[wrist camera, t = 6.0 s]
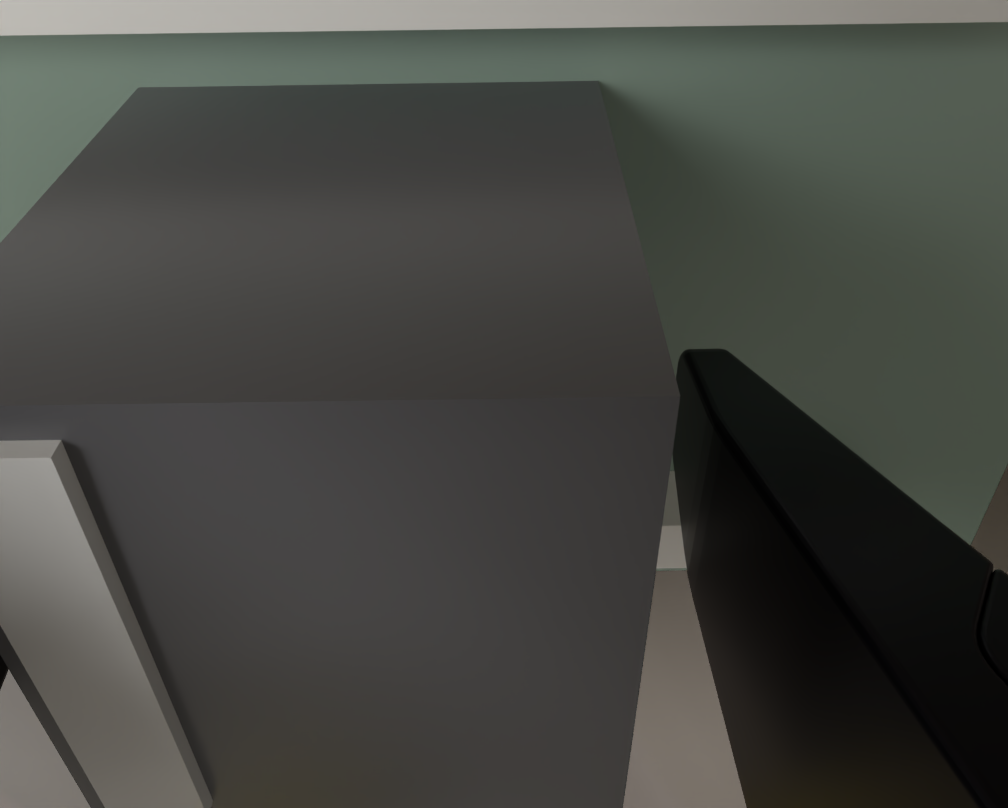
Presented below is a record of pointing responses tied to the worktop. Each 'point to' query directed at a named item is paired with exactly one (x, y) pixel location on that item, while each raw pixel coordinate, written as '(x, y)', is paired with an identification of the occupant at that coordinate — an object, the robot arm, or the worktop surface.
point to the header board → (673, 174)
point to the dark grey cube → (335, 450)
